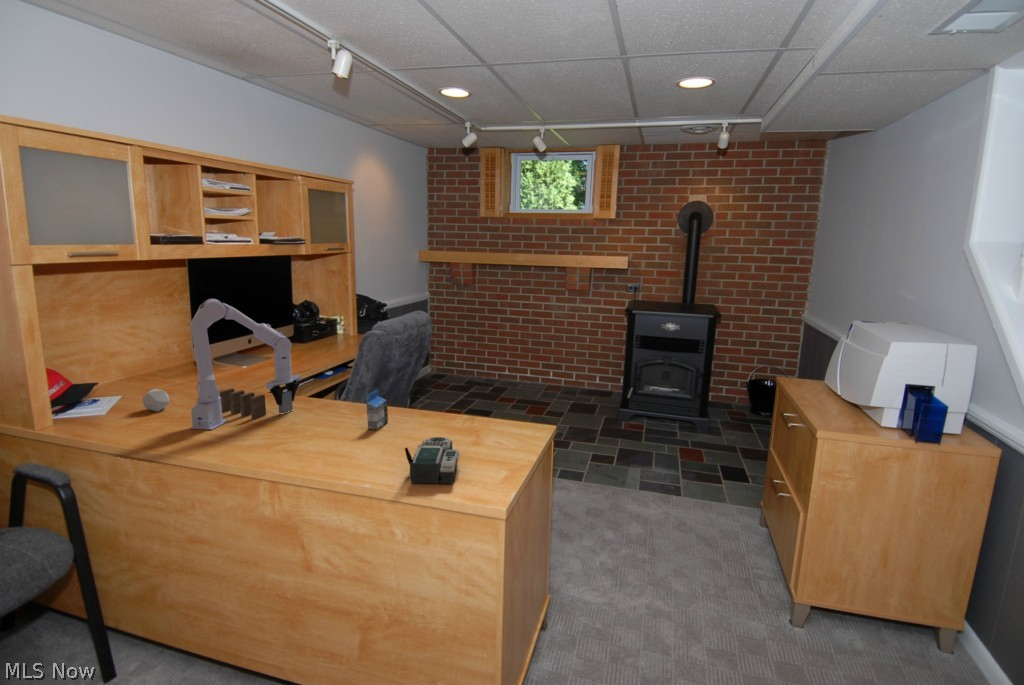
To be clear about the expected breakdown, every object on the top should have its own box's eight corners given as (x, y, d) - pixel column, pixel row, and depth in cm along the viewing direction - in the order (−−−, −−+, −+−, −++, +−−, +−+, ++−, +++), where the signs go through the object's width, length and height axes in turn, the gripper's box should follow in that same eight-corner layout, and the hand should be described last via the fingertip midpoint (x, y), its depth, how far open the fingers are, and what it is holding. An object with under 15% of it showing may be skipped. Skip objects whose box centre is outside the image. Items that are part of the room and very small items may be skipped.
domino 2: (245, 410, 202) (244, 390, 200) (234, 414, 197) (232, 394, 196) (242, 410, 202) (241, 390, 201) (231, 414, 198) (229, 393, 196)
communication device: (463, 447, 172) (463, 417, 170) (456, 486, 144) (456, 450, 142) (419, 447, 171) (419, 416, 169) (403, 485, 144) (403, 449, 142)
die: (176, 410, 203) (172, 387, 206) (160, 405, 195) (156, 381, 198) (155, 417, 203) (152, 394, 206) (138, 413, 195) (135, 389, 198)
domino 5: (292, 411, 202) (291, 391, 201) (282, 414, 198) (280, 394, 197) (289, 410, 203) (288, 390, 202) (279, 414, 199) (277, 393, 197)
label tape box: (377, 430, 184) (376, 396, 181) (366, 429, 184) (365, 395, 182) (388, 422, 192) (387, 389, 190) (378, 421, 193) (377, 389, 191)
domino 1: (235, 408, 204) (234, 388, 203) (224, 412, 200) (222, 391, 198) (233, 408, 205) (231, 388, 203) (221, 411, 200) (219, 391, 199)
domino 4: (266, 415, 197) (264, 394, 196) (254, 419, 193) (253, 398, 191) (263, 414, 198) (261, 394, 196) (251, 418, 193) (249, 397, 192)
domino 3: (255, 413, 199) (254, 392, 198) (244, 416, 195) (242, 396, 193) (252, 412, 200) (251, 392, 199) (241, 416, 196) (239, 395, 194)
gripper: (274, 373, 189) (277, 409, 192) (306, 365, 202) (308, 399, 205) (260, 370, 192) (263, 406, 195) (292, 362, 205) (294, 396, 208)
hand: (285, 402), depth 200 cm, fingers closed on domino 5, 5 cm apart
